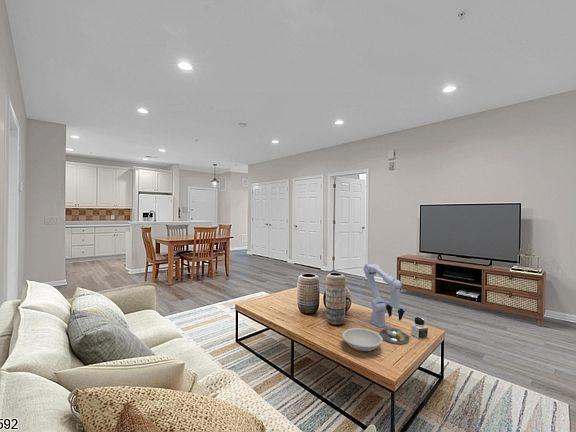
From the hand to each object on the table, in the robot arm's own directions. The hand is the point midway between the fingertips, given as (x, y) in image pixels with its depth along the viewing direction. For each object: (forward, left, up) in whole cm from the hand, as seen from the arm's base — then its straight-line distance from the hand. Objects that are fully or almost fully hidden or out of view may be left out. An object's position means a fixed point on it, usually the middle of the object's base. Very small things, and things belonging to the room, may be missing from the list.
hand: (395, 318), depth 186 cm
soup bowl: (0, -33, -11) cm, 35 cm away
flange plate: (+4, -6, -10) cm, 12 cm away
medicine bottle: (+12, +10, -11) cm, 19 cm away
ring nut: (+4, -6, -9) cm, 11 cm away
